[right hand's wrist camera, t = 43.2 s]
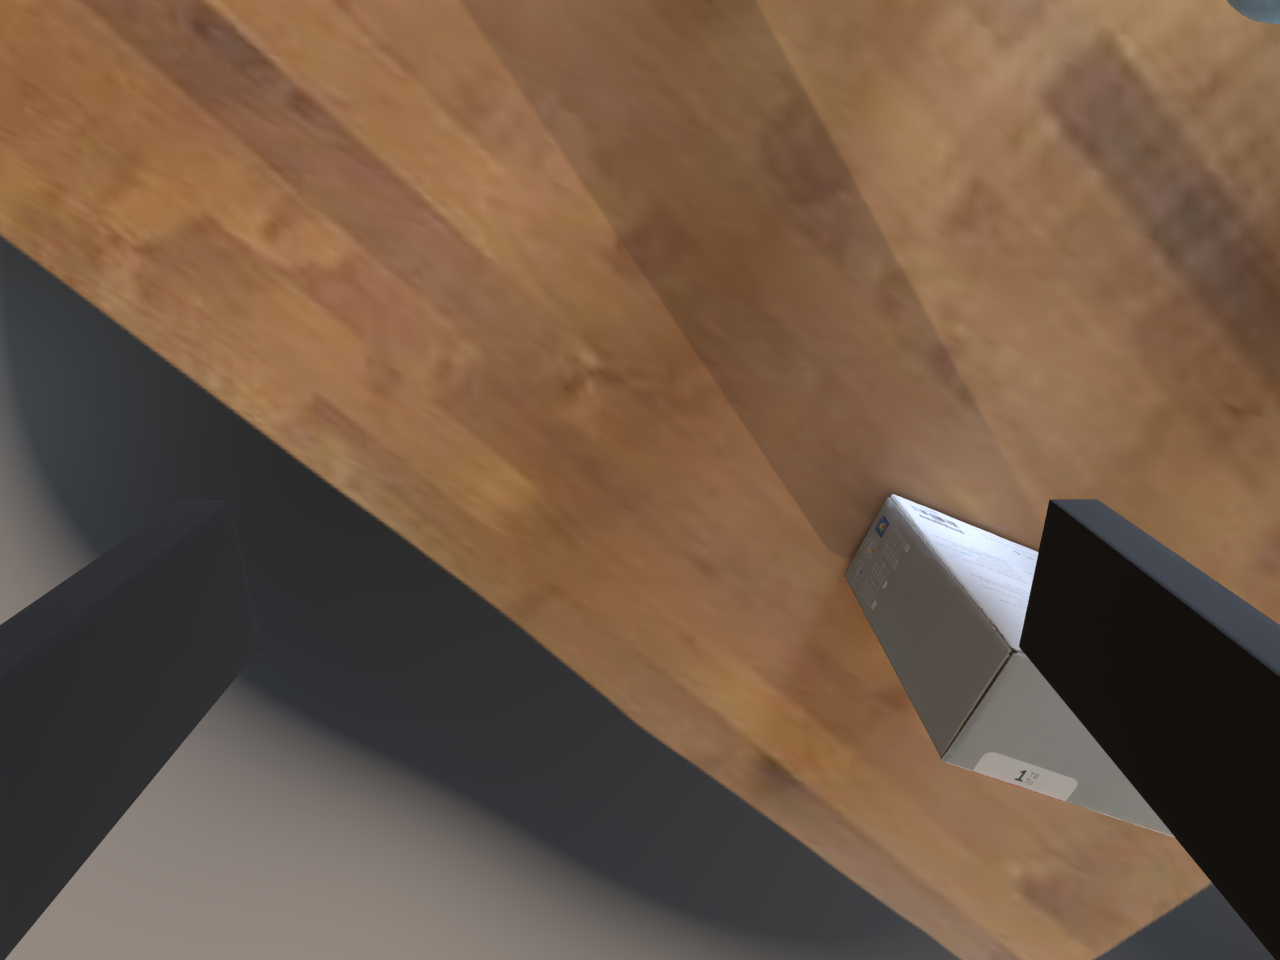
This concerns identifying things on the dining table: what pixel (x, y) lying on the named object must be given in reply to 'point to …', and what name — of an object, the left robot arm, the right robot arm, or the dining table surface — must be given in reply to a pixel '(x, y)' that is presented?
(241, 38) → the dining table surface
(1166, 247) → the dining table surface
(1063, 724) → the hard drive box
